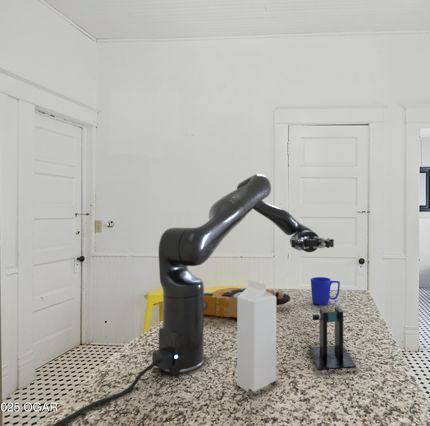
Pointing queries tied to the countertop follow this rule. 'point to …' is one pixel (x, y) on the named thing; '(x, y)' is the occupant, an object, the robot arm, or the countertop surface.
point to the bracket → (333, 354)
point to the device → (232, 301)
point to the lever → (328, 317)
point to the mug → (322, 290)
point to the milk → (256, 337)
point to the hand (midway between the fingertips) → (315, 244)
